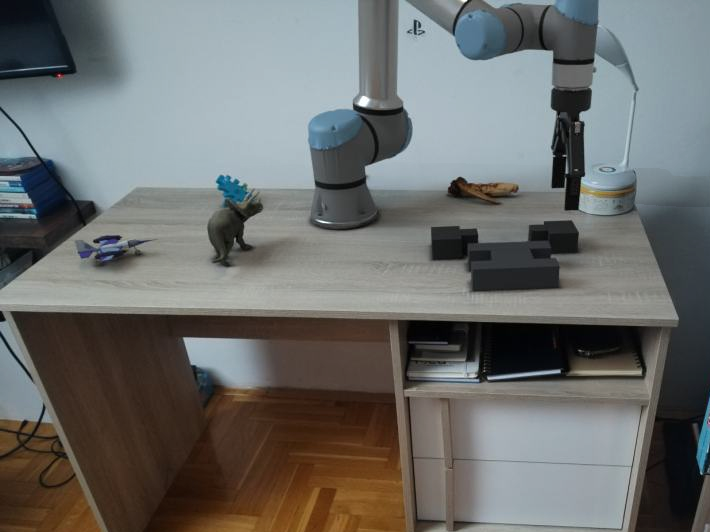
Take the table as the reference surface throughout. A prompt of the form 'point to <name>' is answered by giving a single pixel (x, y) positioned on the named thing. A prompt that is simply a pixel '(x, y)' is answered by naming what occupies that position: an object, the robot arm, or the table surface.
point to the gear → (232, 189)
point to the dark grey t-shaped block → (451, 241)
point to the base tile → (512, 265)
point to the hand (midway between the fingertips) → (564, 198)
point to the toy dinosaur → (231, 226)
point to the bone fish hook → (481, 189)
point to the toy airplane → (107, 247)
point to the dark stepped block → (556, 235)
